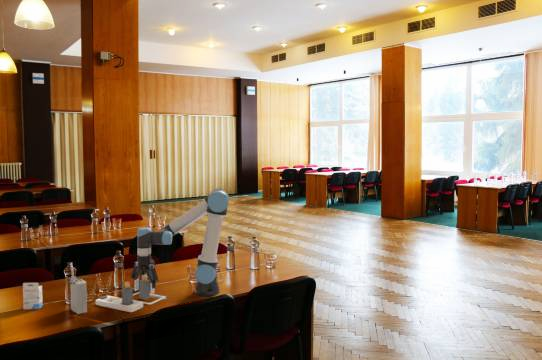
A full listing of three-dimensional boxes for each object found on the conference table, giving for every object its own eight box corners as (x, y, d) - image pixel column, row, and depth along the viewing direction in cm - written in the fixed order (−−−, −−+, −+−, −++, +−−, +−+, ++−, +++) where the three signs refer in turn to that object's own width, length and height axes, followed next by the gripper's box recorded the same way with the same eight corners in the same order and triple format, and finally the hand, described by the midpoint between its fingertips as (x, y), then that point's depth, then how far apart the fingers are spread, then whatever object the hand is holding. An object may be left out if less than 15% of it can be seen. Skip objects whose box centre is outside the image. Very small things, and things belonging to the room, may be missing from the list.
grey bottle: (149, 298, 269) (149, 275, 268) (145, 300, 266) (144, 276, 265) (144, 297, 271) (144, 274, 270) (139, 299, 268) (139, 275, 266)
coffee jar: (140, 292, 282) (140, 262, 281) (137, 288, 289) (137, 259, 288) (156, 290, 287) (156, 260, 285) (153, 286, 294) (153, 257, 292)
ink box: (43, 306, 257) (42, 280, 256) (39, 309, 252) (38, 282, 251) (27, 306, 256) (26, 280, 255) (23, 309, 251) (22, 283, 250)
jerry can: (68, 307, 255) (67, 263, 253) (78, 305, 258) (77, 261, 256) (77, 316, 243) (76, 269, 241) (87, 314, 246) (86, 267, 244)
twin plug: (132, 307, 254) (132, 281, 253) (127, 309, 251) (127, 283, 249) (127, 305, 256) (127, 280, 255) (122, 308, 252) (121, 282, 251)
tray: (166, 299, 270) (166, 296, 270) (150, 306, 258) (150, 303, 258) (139, 293, 279) (139, 291, 279) (122, 300, 267) (122, 298, 266)
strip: (143, 308, 254) (143, 301, 254) (131, 314, 246) (131, 306, 246) (107, 301, 266) (107, 294, 265) (95, 306, 257) (95, 298, 257)
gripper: (164, 255, 265) (165, 293, 266) (133, 251, 275) (133, 287, 277) (156, 258, 258) (156, 297, 260) (123, 253, 268) (124, 290, 270)
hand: (144, 292), depth 268 cm, fingers open, 11 cm apart
